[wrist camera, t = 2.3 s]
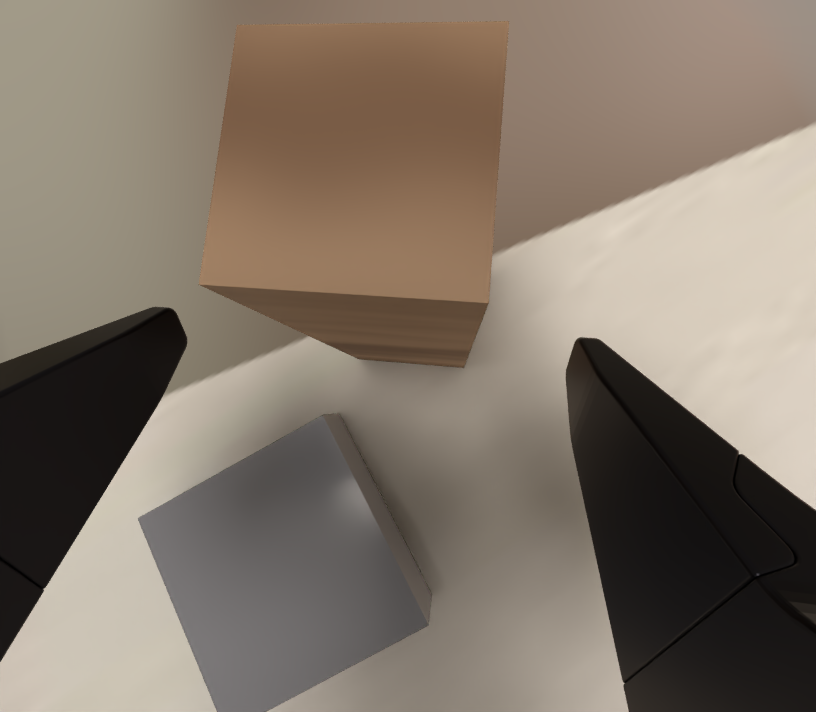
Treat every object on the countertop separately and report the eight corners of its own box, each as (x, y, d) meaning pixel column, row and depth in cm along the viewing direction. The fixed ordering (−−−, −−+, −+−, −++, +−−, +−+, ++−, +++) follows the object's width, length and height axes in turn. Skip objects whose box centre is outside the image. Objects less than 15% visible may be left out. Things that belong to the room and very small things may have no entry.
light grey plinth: (431, 594, 18) (428, 625, 15) (256, 687, 18) (225, 733, 16) (339, 413, 19) (322, 414, 17) (177, 503, 20) (137, 518, 17)
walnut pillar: (463, 367, 19) (488, 303, 7) (358, 359, 19) (198, 285, 7) (471, 263, 19) (508, 21, 7) (369, 258, 20) (237, 24, 8)
